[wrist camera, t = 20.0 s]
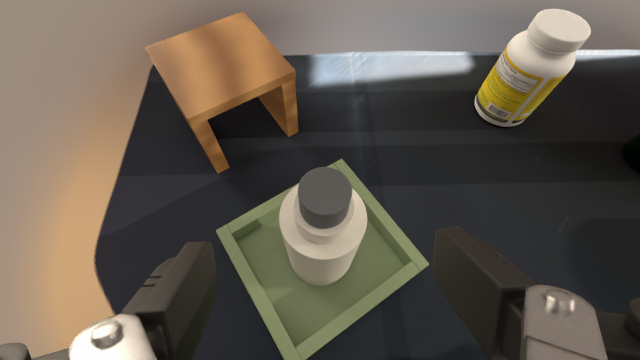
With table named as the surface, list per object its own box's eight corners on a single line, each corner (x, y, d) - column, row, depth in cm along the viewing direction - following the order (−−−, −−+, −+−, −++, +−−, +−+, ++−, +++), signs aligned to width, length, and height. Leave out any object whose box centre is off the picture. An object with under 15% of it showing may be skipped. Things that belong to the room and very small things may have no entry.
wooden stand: (218, 175, 32) (186, 119, 24) (181, 113, 36) (144, 47, 28) (299, 133, 35) (295, 70, 27) (257, 79, 39) (242, 10, 31)
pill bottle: (518, 91, 38) (587, 4, 29) (530, 130, 35) (612, 49, 26) (468, 88, 38) (520, 0, 29) (476, 127, 36) (537, 44, 26)
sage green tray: (293, 368, 24) (290, 371, 21) (225, 242, 28) (215, 230, 25) (416, 273, 27) (429, 264, 24) (339, 176, 32) (341, 158, 29)
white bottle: (311, 300, 25) (309, 263, 14) (278, 245, 27) (253, 176, 16) (364, 262, 26) (399, 203, 15) (328, 214, 28) (337, 131, 17)
